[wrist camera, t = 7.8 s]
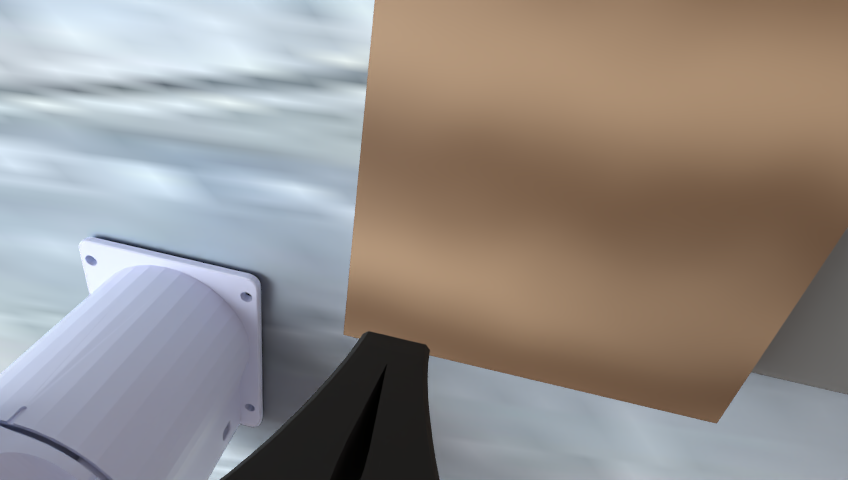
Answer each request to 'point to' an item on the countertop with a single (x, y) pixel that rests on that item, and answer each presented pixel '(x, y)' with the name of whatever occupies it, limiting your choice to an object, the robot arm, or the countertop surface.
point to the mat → (815, 331)
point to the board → (600, 186)
